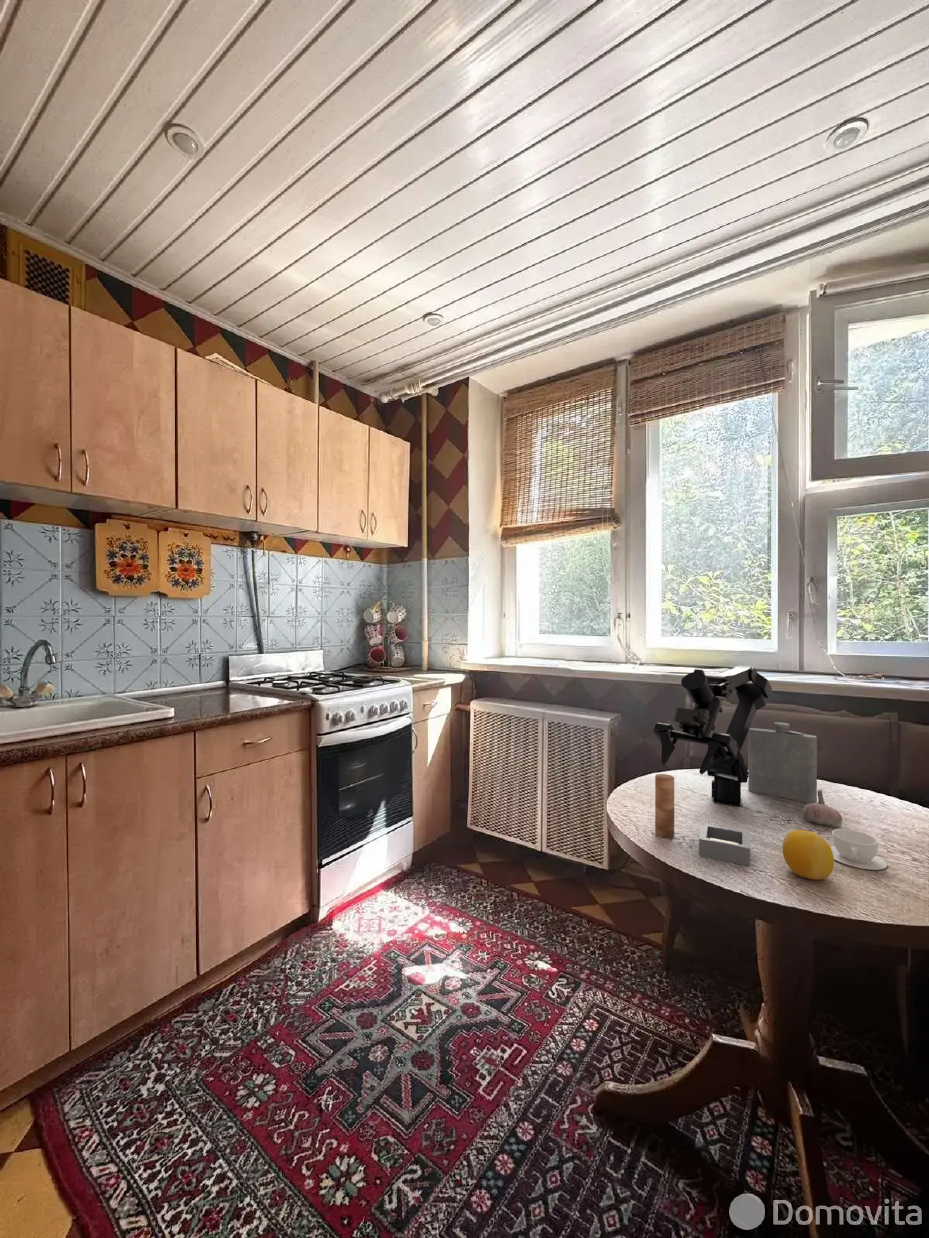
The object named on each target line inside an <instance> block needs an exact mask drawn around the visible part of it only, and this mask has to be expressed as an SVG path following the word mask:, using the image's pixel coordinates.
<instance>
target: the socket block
mask: <svg viewBox="0 0 929 1238" xmlns="http://www.w3.org/2000/svg"><path fill="white" fill-rule="evenodd" d="M699 832H700V833H699V837H698V846H699V849H698V851H699V852H698V854H699V856H700V857H702V858H708V859H713V860H717V861H722V862H728V863H732V864H735V865H736V864H738V865H742V866H744V867H745V866H746V867H750V866H751V847H750V844H751V843H750V842H751V841H750V831H748V830H743V829H737V828H731V827H727V826H721V825H715V824H710V823H704V822H702V823H701V826H700V831H699Z"/></svg>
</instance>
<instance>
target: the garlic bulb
mask: <svg viewBox="0 0 929 1238" xmlns="http://www.w3.org/2000/svg"><path fill="white" fill-rule="evenodd" d="M802 818H803V819H804V820H805V821H807V822H810V823H811V822H814V823H816V824H818V825H825V826H829V827H838V826H839V825H841V824H842V823H843V816H842V815H841V814H840V812H839V811H838V810H837V809H835V808H833V807H831V806H829V805H827V804H826V803H825V799H824V796H823V789H821V788H819V789H817V803H811V804H810V803H807V804H805V806H803V809H802Z"/></svg>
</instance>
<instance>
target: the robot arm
mask: <svg viewBox="0 0 929 1238" xmlns="http://www.w3.org/2000/svg"><path fill="white" fill-rule="evenodd" d="M680 685H681V686H682V689H683V690H684V691H685V694H686V695H687V697H688V699H689V701H690V702H691V703H693V706H692V708H691V709H690V708H683V707H675V708H676V709H675V712H674V713H675V714H674V718H673V721H675V722H677V723H679V724H678V727H679V729H680V730H682V731H678V730H675V728H674V727H673V725H672V724H669V723H664V722H656V723H655V724H654V725H653V728H652V732H653V733H654V735H655V737H656V738H657V740H658V741H659V742H660V744H661V759H660V763H661V764H662V766H665V765H666V764H667V763H668V761H669V759H670V757H671V756H672V754H673V752H674V750H675V749H676V746H675V744H677V742H678V741H679V740H680V741H684V742H690V743H694V744H698V745H704V746H707V751H706V754H704V755H705V756H704V758H703V760H702V762H701V765H700V767H699V771H698V772H699V774H700V775H704V774H705V773H706V774H707V776H708V777H713V780H711V798H712V799H713V803H714V804H715V803H716V804H722V805H729V806H736V807H742V792H741V791H742V786H741V785H742V784H743V783H744V784H745V783H746V784H747V783H748V768H747V767H746V765H745V760H744V757H743V753H742V748H743V745H744V742H745V740H746V738H747V737H748V731H749V728H751V726H752V723H753V721H754V717H755V716H756V713H757V711H759V710H760V709H762V708H764V707H765V706H767V704H768V701H770V699H771V698H772V695H773V689H772V685H771V684H770V681H769V680H768V679H767V678H766V677H765V676H763V675H761V674H760V673H759V672H758V671H757V669H756V668H754V667H752V666H744V665H743V666H739V665H737V666H734V667H733V668H731V669H730V670H727V671H724V672H721V673H705V671H704V669H699V668H694V670H693V672H689V673H687V674H686V675H684V677H683V676H682V678H681V681H680ZM734 690H735V694H736V697H737V700H738V703H737V705H736V708H735V709H734V711H733V714H732V716H731V719H730V721H729V724H728V726H727V728H726V730H725V733H723V732H717V731H715V730H716V726H715V722H716V719H717V717H718V714H719V713H721V714H722V713H723V707H722V704H723V703H721V700H720V699H719V698H724V699H729V697H730V696H732V695H733V694H734ZM712 731H715V732H713V733H712V734H711V732H712ZM710 734H711V736H710Z"/></svg>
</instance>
